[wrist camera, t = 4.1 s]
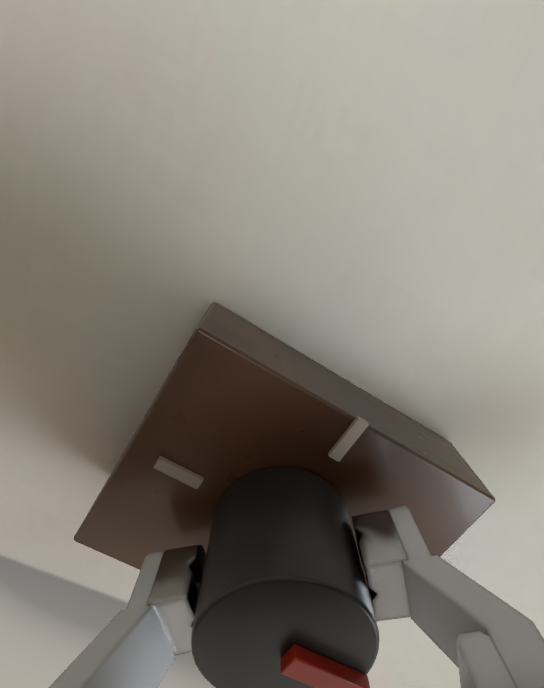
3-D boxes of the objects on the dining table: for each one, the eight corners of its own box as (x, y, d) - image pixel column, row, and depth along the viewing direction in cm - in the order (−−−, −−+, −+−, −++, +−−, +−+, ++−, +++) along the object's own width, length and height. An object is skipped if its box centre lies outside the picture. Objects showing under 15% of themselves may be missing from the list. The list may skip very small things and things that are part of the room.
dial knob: (189, 539, 12) (152, 686, 8) (258, 442, 10) (252, 562, 7) (300, 591, 12) (312, 747, 9) (375, 505, 11) (424, 643, 8)
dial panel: (109, 478, 14) (67, 547, 12) (215, 298, 12) (198, 325, 9) (326, 582, 16) (338, 665, 13) (453, 440, 14) (503, 502, 11)
